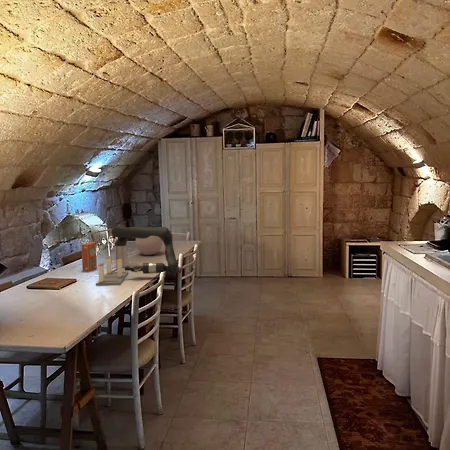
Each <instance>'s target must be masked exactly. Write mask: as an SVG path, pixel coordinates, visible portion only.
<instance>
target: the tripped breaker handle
mask: <svg viewBox="0 0 450 450" xmlns="http://www.w3.org/2000/svg"><path fill="white" fill-rule="evenodd" d="M116 268H117V272H118V277H122V271H123V267H122V259H118V260H117V267H116Z"/></svg>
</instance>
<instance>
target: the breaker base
mask: <svg viewBox="0 0 450 450" xmlns="http://www.w3.org/2000/svg"><path fill="white" fill-rule="evenodd" d="M105 259H106V260H105V261H106V262H105V263H106V272H105V271H104V270H105V269H104V268H105V266H104V265H105V264H104V262H102V263H101V262H99V263H98V264H97V271H98V280H97V282H95V286H97V287H98V286H99V287H101V286H121V285H122V283H123V281H125V279H126V278H127V276H128V275H129V271H125V270H124V271H123V270H122V277H118V271H113V270H112V256H111V255H110V256H109V255H108V256H106V257H105Z"/></svg>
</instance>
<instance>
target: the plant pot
mask: <svg viewBox="0 0 450 450" xmlns="http://www.w3.org/2000/svg"><path fill="white" fill-rule="evenodd" d="M147 227H151V224H149V223H147ZM162 244H163V241H162V240H161V239H160V238H159V237H158V236H150V237H148V238H145V239H139V238H135V247H136V249H137V250H138V252H139V253H141V254H142V255H145V256H152V254H153V255H155V254H156V255H157V253H158V252H159V251H160V250H161V248H162Z"/></svg>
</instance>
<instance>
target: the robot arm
mask: <svg viewBox="0 0 450 450" xmlns="http://www.w3.org/2000/svg"><path fill="white" fill-rule="evenodd" d="M111 234H112V236H113V237H115V238H116V240H115V241H114V258H115V259H114V260H115V261H114V263H115V268H117V260H118V259H122V268H124V271H128V272H129V271H130V272H134V273H139V272H142V273H143V274H144V275H145V274H146V275H148V274H150V275H151V274H162V273H161V272H163V271H166V273H164V274H166V275H173V276H174V275H176V274H178V272H179V264H178V260H177V258H176V257H177V256H176V253H175V250H174V244H173V242H174V241H173V234H172V231H170V228H168V227H166V226H155V227H154V226H149V227H148V226H132V227H131V226H130V227H127V226H125V225H124V224H120V225H116V226H114V227H112V229H111ZM150 236H158V237H159V238H160V239H161V240H162V244H163V245H164V255H165V260H166V262H167V265H165V263H163V262H143V263H142V265H141V264H137V265H132V266H129V262H128V261H129V259H128V249H127V243H128V238H133V239H136V238H139V239H145V238H148V237H150Z"/></svg>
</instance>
